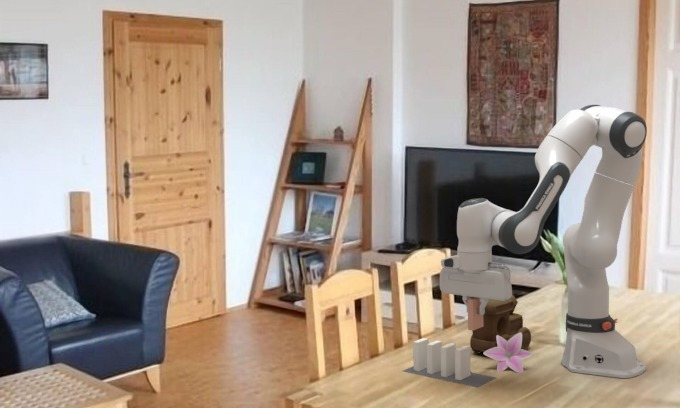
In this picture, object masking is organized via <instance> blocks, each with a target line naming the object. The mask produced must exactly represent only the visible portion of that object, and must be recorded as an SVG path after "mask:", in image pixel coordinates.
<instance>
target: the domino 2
mask: <svg viewBox="0 0 680 408" xmlns="http://www.w3.org/2000/svg"><path fill="white" fill-rule="evenodd" d="M442 346H443V341H441V340H438V339H437V340H435V341H432V342H429V344H427V373H429V374H434V373H436V372H438V371H441V347H442Z"/></svg>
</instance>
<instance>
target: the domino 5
mask: <svg viewBox="0 0 680 408" xmlns="http://www.w3.org/2000/svg"><path fill="white" fill-rule="evenodd" d="M481 303H482V302H480V298H477V297H471V299H468V313H467V330H468V331H472V330H476V329H478V328H481V327H483V326H484V323H483V315H480V314H477V310H476V308H477V307H480V305H481Z"/></svg>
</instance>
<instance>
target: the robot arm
mask: <svg viewBox="0 0 680 408" xmlns="http://www.w3.org/2000/svg"><path fill="white" fill-rule="evenodd" d="M647 129H648V127H647V122H646V121H645V120H644V118H643V117H641V116H640V115H638V113H635V112H633V111H627V110H625V109H622V108H619V107H614V106H605V105H600V104H588V105H585V106H583V107H581V108H579V109H578V108H577V109H576V108H575V109H571V110H569V111H568V112H567V113H566V114H564V116H562V117H561V118H560V120H558V122H556V124H554V126H553V127H552V129H551V130H550V131H549V132H548V134H547V135H546V136H545V137H544V139H543V140H542V141H541V143H540V144H539V146H538V148H537V150H536V153H535V156H534V164H535V167H536V169H537V171H538V173H539V180H538V182H537V183H538V184H537V186H536V187H535V189H534V190H533V191H532V193H531V195H530V197H529V198H528V200H527V201H526V203H525V205H524V206H523V207H522V208H521V209H520V210H519V211H513V210H511V209H507V208H504V207H501V206H498V205H497V204H494V203H493V202H491V201H489V200H488V199H487V198H484V197H479V198H471V199H468V200H464V201H463V202H462V203H461V204H460V205H459V206H458V211H457V216H456V217H457V219H456V235H457V239H458V245H457V253H456V254H453V255H451V256H448V257H444V258H441V260H440V265H441V269H440V272H439V290H440V291H441V293H442V294H447V295H448V294H449V295H456V296H462V302H463V303H464V305H465V307H466V313H467V314H468V299H471V298H473V297H477V298H480V302H482V303H481V305H480V307H477V308H476V310H477V314H480V315H483V314H485V307H486V305H487V303H488V301H489V299H492V300H500V301H505V300H508V299H510V298H511V296H512V295H513V287H512V281H511V270H510V268H509V267H508V266H507V265H506V264H503V263H495V262H493V259H492V257H493V253H492V249H493V246H500V247H502V248H504V249H506V250H507V251H509V252H511V253H513V254H515V255H524V254H525V255H526V254H527V253H529V252H532V250H534V249H536V247H537V245H538V244H539V242H540V239H541V237H542V233H543V229H544V225H545V222H547V220H548V218H549V215H550V214H551V212H552V211H553V209H554V207H555V206H556V204H557V203H558V201H559V199H560V198H561V196H562V195H563V193H564V191H565V189H566V187H567V185H568V183H569V181H570V179H571V177H572V174H573V173H574V172H575V170H576V168H577V167H578V166H579V164H580V163H581V161H582V160H583V159H584V157H585V156H586V154H587V153H588V151H589V149H590V148H591V147H592V146H596V147H598V148H601V158H600V160H599V162H598V165H597V166H596V169H595V171H594V173H593V176H592V179H591V182H590V185H589V188H588V189H587V191H586V192H587V193H586V195H585V197H584V204H583V205H584V206H583V212H582V216H581V221H580V222H577V223H575V224H572V225H570V226H569V227H568V228H567V229H566V230H565V231H564V234H563V236H562V245H563V252H564V253H563V255H564V264H565V265H564V266H565V275H566V280H567V281H566V282H567V312H566V313H565V332H566V338H565V344H564V350H563V354H562V358H561V362H560V364H561V365H562V366H564V367H566V368H567V370H568V371H570V372H571V373H579V374H586V375H593V376H594V375H595V376H603V377H612V378H620V379H629V378H630V379H631V378H634V377H638V376H639V375H641V374H643V373H644V372H645V371H646V364H645V363H644V362H640V361H638V355H637V350H636V348H635V345H634V344H633V343H631V341H629V340H628V339H626V337H625V336H623V335H622V334H621V333H620V332H619V331H617V329H616V324H617V323H618V318H613V317H612V316H611V315H610V313H609V312H610V285H609V282H608V276H607V272H606V268H609V267H610V266H611V265H612V264H613V263H614V262H615V260H616V259H617V255H618V242H619V238H620V233H621V230H622V224H623V219H624V215H625V213H626V209H627V206H628V204H629V201H630V198H631V196H632V194H633V190H634V189H635V186H636V183H637V180H638V178H639V177H638V176H639V174H640V171H641V166H642V161H643V150H642V148H643V146H644V144H645V142H646V139H647V133H648V132H647V131H648V130H647Z"/></svg>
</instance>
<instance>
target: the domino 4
mask: <svg viewBox="0 0 680 408" xmlns="http://www.w3.org/2000/svg"><path fill="white" fill-rule="evenodd" d="M471 365H472V364H471V346H470V345H463V346H460V347H458V348H456V350H455V379H457V380H462V379H464V378H466V377H469V376H471V371H472V369H471V367H472V366H471Z"/></svg>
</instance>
